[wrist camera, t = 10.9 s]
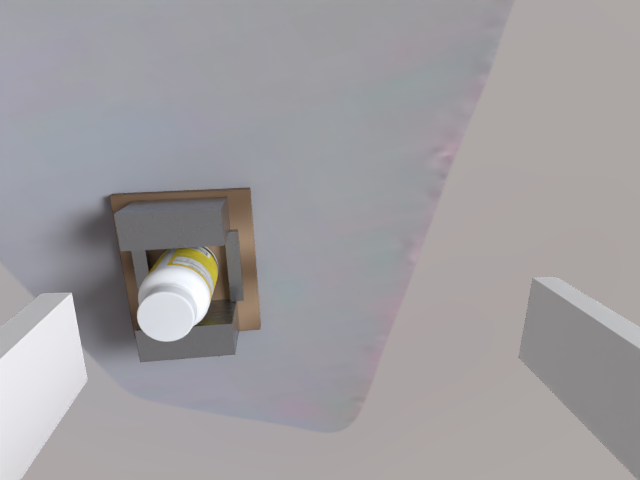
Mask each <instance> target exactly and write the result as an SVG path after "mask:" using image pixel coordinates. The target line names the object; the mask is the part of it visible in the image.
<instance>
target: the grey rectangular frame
mask: <svg viewBox="0 0 640 480" xmlns="http://www.w3.org/2000/svg"><path fill="white" fill-rule="evenodd" d="M114 217H115V222H116V228H117V234H118V239H119V245H120V251H131V252H132V258H133V264H134V270H135V276H136V282H137V288H138V293H139V289H140V286H141V284H142V282H143V281H144V279H145V277H146V276H147V275H148V273H149V272H150V270H151V265H150V258H149V252H148V250H154V249H172V248H190V247H207V246H224V245H225V248H226V258H227V268H228V278H229V289H230V299H223V300H211V302H210V305H209V308H208V311H207V313H206V315H205V316H204V317H203V319H202V320H201V321H200V322H199V323H197V324H196V325H194V326H193V327H192V329H191V330H190V332H189V333H188V334H187V335H186V336H184V337H183V338H181V339H178V340H175V341H169V342H164V341H158V340H155V339H153V338H151V337H149V336H148V335H146V334H145V333H144V332H143V331H142V329H141V328H140V326H139V325H138V326H137V328H136V330H135V335H136V341H137V346H138V352H139V358H140V362H148V361H160V360H173V359H185V358H198V357H210V356H223V355H235V352H236V346H237V339H238V333H239V327H240V326H239V315H238V305H237V301H244V289H243V278H242V266H241V255H240V243H239V232H238V229H233V230H230V219H229V208H228V197H227V196H222V197H200V198H178V199H156V200H135V201H133V202H132V203H130V204H129V205H127V206H126V207H124V208H123V209H121V210H120V211H118V212H117V213H115V214H114Z"/></svg>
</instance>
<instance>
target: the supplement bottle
mask: <svg viewBox="0 0 640 480" xmlns="http://www.w3.org/2000/svg"><path fill="white" fill-rule="evenodd" d="M217 277H218V262H217V259H216V257H215V255H214V254H213V253H212V251H211V250H210V249H209V248H207V247H190V248H172V249H166V250H165V251H164V252H163V253H162V255H161V256H160V258H159V259H158V260H157V262H156V263H155V265H154V266H153V268H152V269H151V270H150V272H149V273H148V275H147V276H146V277H145V279H144V281H143V282H142V284H141V286H140V289H139V293H138V303H139V307H138V310H137V321H138V324H139V326H140V328H141V329H142V331H143V332H144V333H145V334H146V335H148V336H149V337H151V338H153V339H155V340H158V341H164V342H169V341H175V340H178V339H181V338H183V337H184V336H186V335H187V334H188V333H189V332H190V330H191V329H192V327H193V326H194V325H196V324H197V323H199V322H200V321H201V320H202V319H203V317H204V316H205V315H206V313H207V311H208V308H209V305H210V302H211V298H212V295H213V292H214V288H215V285H216V281H217Z"/></svg>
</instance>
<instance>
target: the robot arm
mask: <svg viewBox="0 0 640 480" xmlns="http://www.w3.org/2000/svg"><path fill="white" fill-rule="evenodd" d="M519 358H520V359H521V360H522V361H523V362H524V363H525V365H526V366H528V368H529V369H530V370H531V371H532V372H533V373H534V374H535V375H536V376H537V377H539V379H540V380H541V381H542V382H543V383H544V384H545V385H546V386H547V387H548V388H549V389H550V390H551V391H552V392H553V393H554V394H555V395H556V396H557V397H558V398H559V399H560V400H561V401H562V402H563V404H564V405H565V406H566V407H567V408H568V409H569V410H571V412H572V413H573V414H574V415H575V416H576V417H577V418H578V419H579V420H580V421H581V422H582V423H583V424H584V425H585V426H586V427H587V428H588V429H589V430H590V431H591V432H592V433H593V434H594V435H595V436H596V437H597V438H598V439H599V440H600V442H602V444H603V445H604V446H605V447H607V449H608V450H609V451H610V452H611V453H612V454H613V455H614V456H615V457H616V458H617V459H618V460H619V461H620V462H621V463H622V464H623V465H624V466H625V467H626V468H627V469H628V470H629V471H630V472H631V473H632V474H633V475H634V476H635V477H636V478H637V479H638V480H640V327H638V326H637V325H635V324H633V323H632V322H630V321H628V320H627V319H625V318H623V317H622V316H620V315H619V314H617V313H615V312H614V311H612V310H610V309H609V308H607V307H605V306H604V305H602V304H600V303H599V302H597V301H596V300H594V299H592V298H591V297H589V296H587V295H586V294H584V293H582V292H581V291H579V290H577V289H576V288H574V287H572V286H571V285H569V284H567V283H566V282H564V281H562V280H561V279H559V278H558V277H538V278H533V279H532V284H531V290H530V296H529V301H528V308H527V313H526V318H525V324H524V330H523V335H522V341H521V347H520V353H519ZM86 382H87V374H86V369H85V364H84V358H83V352H82V347H81V341H80V336H79V330H78V325H77V319H76V314H75V308H74V303H73V297H72V292H71V293H41V294H40V295H39V296H38V297H36V298H35V299H34V300H33V301H31V302H30V303H29V304H28V305H27V306H25V307H24V308H23V309H22V310H20V311H19V312H18V313H17V314H16V315H14V316H13V317H12V318H11V319H9V320H8V321H7V322H6V323H4V324H3V325H2V326H1V327H0V480H21V478H22V477H23V475H24V474H25V472H26V470H27V469H28V468H29V466H30V465H31V463H32V462H33V460H34V459H35V457H36V456H37V454H38V453H39V451H40V450H41V448H42V447H43V446H44V444H45V443H46V441H47V439H48V438H49V437H50V435H51V434H52V432H53V431H54V429H55V428H56V426H57V425H58V423H59V422H60V420H61V419H62V417H63V416H64V414H65V413H66V411H67V410H68V408H69V407H70V405H71V404H72V402H73V401H74V399H75V398H76V396H77V395H78V394H79V392H80V391H81V389H82V388H83V386H84V384H85V383H86Z"/></svg>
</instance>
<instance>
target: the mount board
mask: <svg viewBox="0 0 640 480" xmlns="http://www.w3.org/2000/svg"><path fill="white" fill-rule="evenodd" d="M222 196H227V197H228V208H229V219H230V230H233V229H238V232H239V243H240V255H241V266H242V278H243V289H244V301H237V305H238V315H239V326H240V327H239V331H245V330H258V329H260V327H261V322H260V309H259V296H258V283H257V270H256V257H255V244H254V231H253V218H252V205H251V191H250V188H231V189H209V190H186V191H163V192H141V193H118V194H112V195H110V200H111V206H112V212H113V217H114V214H115V213H117V212H118V211H120V210H121V209H123V208H124V207H126V206H127V205H129V204H130V203H132V202H133V201H135V200H156V199H178V198H200V197H222ZM114 223H115V228H116V222H115V217H114ZM116 234H117V228H116ZM117 240H118V245H119V239H118V234H117ZM207 248H209V249H210V250H211V251H212V253H213V254H214V255H215V257H216V259H217V262H218V277H217V281H216V285H215V288H214V292H213V295H212V298H211V300H223V299H230V289H229V278H228V268H227V258H226V248H225V245H224V246H207ZM165 250H166V249H154V250H148V252H149V258H150V265H151V269H152V268H153V266H154V265H155V263H156V262H157V260H158V259H159V258H160V256H161V255H162V253H163V252H164V251H165ZM119 251H120V245H119ZM120 256H121V262H122V268H123V273H124V279H125V284H126V290H127V296H128V301H129V307H130V313H131V318H132V324H133V329H134V335H135V330H136V328H137V326H138V325H139V324H138V321H137V310H138V307H139V303H138V288H137V282H136V276H135V270H134V264H133V258H132V252H131V251H120ZM135 339H136V335H135Z"/></svg>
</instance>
